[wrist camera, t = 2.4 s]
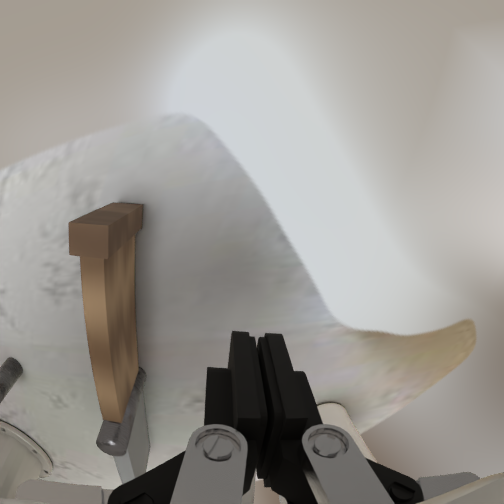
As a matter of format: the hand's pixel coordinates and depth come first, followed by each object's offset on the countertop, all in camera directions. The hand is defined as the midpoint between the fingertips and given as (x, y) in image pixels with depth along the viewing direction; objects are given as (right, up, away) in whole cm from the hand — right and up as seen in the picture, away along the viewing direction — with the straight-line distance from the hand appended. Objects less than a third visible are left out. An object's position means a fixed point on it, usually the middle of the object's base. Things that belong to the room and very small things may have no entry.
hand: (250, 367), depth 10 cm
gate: (-10, +1, +14) cm, 17 cm away
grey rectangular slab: (-12, -14, +19) cm, 26 cm away
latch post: (-27, -9, +16) cm, 32 cm away
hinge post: (-11, -8, +17) cm, 22 cm away
